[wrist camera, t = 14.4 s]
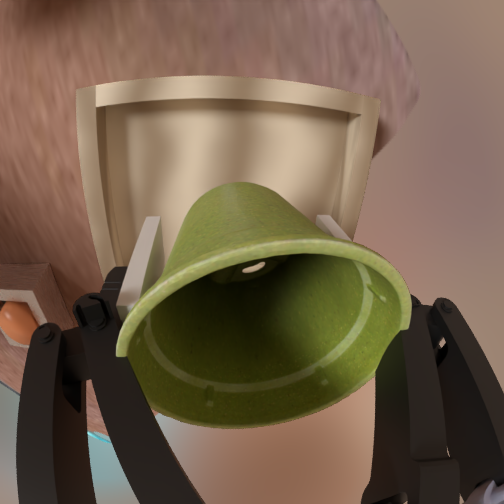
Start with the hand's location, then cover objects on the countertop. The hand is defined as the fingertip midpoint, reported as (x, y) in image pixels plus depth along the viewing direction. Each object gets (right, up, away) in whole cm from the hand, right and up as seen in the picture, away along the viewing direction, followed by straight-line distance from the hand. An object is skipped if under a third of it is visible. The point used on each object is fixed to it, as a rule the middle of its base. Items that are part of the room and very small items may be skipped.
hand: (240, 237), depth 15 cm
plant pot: (0, 0, 0) cm, 0 cm away
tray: (-2, +5, +8) cm, 9 cm away
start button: (-25, -7, +8) cm, 27 cm away
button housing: (-25, -6, +10) cm, 28 cm away
